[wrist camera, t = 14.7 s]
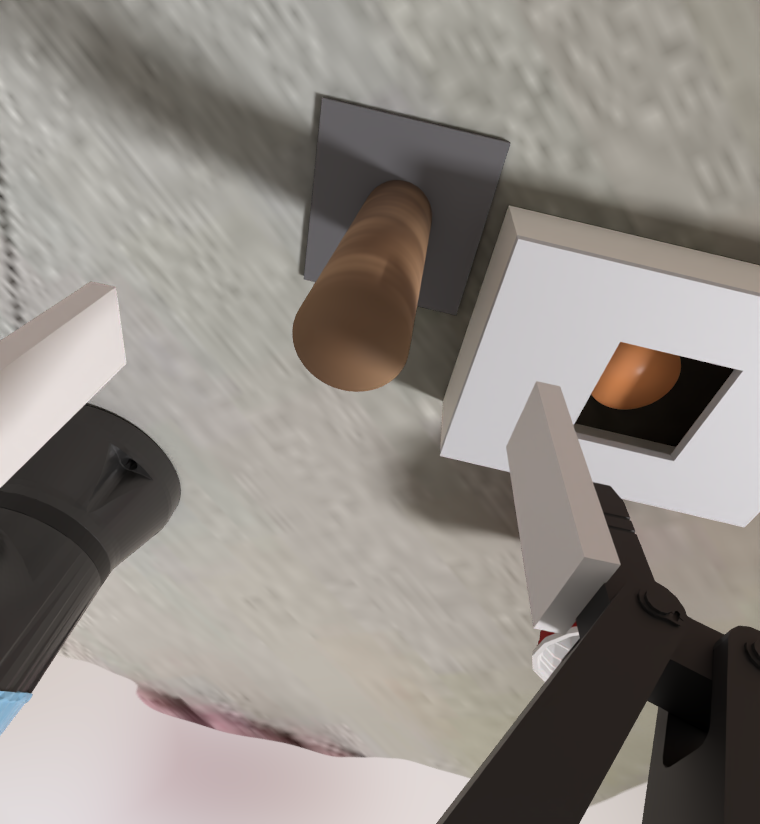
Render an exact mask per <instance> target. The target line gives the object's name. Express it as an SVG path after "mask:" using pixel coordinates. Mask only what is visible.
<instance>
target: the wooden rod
mask: <svg viewBox="0 0 760 824" xmlns="http://www.w3.org/2000/svg"><path fill="white" fill-rule="evenodd" d="M431 223H432V210H431V206H430V203H429V201H428V199H427V197H426V195H425V194H424V193H423V192H422V190H420V189H419V188H418V187H417V186H415V185H414V184H412V183H410V182H407V181H402V180H392V181H387V182H385V183H382V184H381V185H379V186H377V187H376V188H375V189H374V190H373V191H372V192H371V193H370V195H369V196H368V198H367V199H366V201H365V203H364V204H363V206H362V208H361V209H360V211H359V212H358V214H357V216H356V217H355V219H354V221H353V222H352V224H351V225H350V227H349V229H348V230H347V232H346V234H345V235H344V237H343V238H342V240H341V242H340V243H339V245H338V247H337V248H336V250H335V251H334V253H333V255H332V256H331V258H330V260H329V261H328V263H327V265H326V266H325V268H324V269H323V271H322V273H321V274H320V276H319V278H318V279H317V281H316V282H315V284H314V286H313V287H312V289H311V291H310V292H309V294H308V295H307V297H306V299H305V300H304V302H303V304H302V305H301V307H300V308H299V310H298V312H297V314H296V317H295V320H294V323H293V343H294V347H295V350H296V352H297V355H298V357H299V358H300V360H301V362H302V363H303V365H304V366H305V367H306V368H307V369H308V371H309V372H310V373H311V374H313V375H314V376H315V377H316V378H318V379H319V380H321V381H322V382H324V383H326V384H328V385H330V386H332V387H335V388H338V389H341V390H346V391H355V392H358V391H369V390H373V389H377V388H379V387H382V386H384V385H385V384H387V383H389V382H390V381H392V380H393V379H394V378H395V377H396V376H397V375H398V374H399V373H400V372H401V370H402V369H403V367H404V365H405V363H406V361H407V358H408V355H409V350H410V344H411V338H412V332H413V327H414V321H415V315H416V309H417V303H418V298H419V292H420V286H421V280H422V275H423V269H424V263H425V257H426V252H427V246H428V240H429V234H430V229H431Z"/></svg>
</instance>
